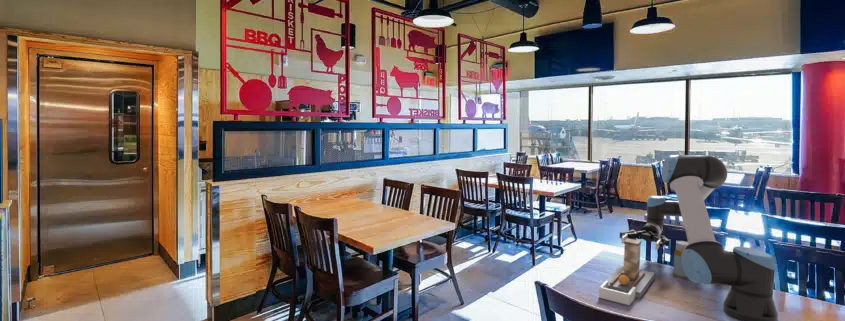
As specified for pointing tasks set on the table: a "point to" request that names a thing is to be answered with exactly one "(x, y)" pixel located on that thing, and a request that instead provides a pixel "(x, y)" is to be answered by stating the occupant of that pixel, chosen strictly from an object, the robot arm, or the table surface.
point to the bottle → (679, 260)
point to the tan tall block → (631, 258)
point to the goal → (616, 295)
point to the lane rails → (632, 284)
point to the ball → (623, 280)
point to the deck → (631, 282)
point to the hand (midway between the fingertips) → (639, 243)
